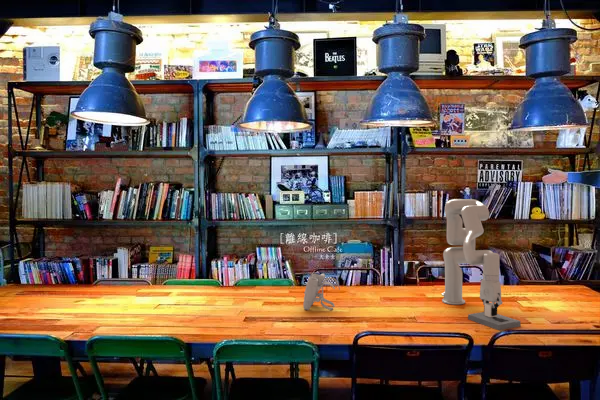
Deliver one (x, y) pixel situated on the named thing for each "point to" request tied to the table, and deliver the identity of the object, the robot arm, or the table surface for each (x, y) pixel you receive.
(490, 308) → the peg
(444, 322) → the table surface
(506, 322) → the keyhole plate
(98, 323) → the table surface
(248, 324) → the table surface
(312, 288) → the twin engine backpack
